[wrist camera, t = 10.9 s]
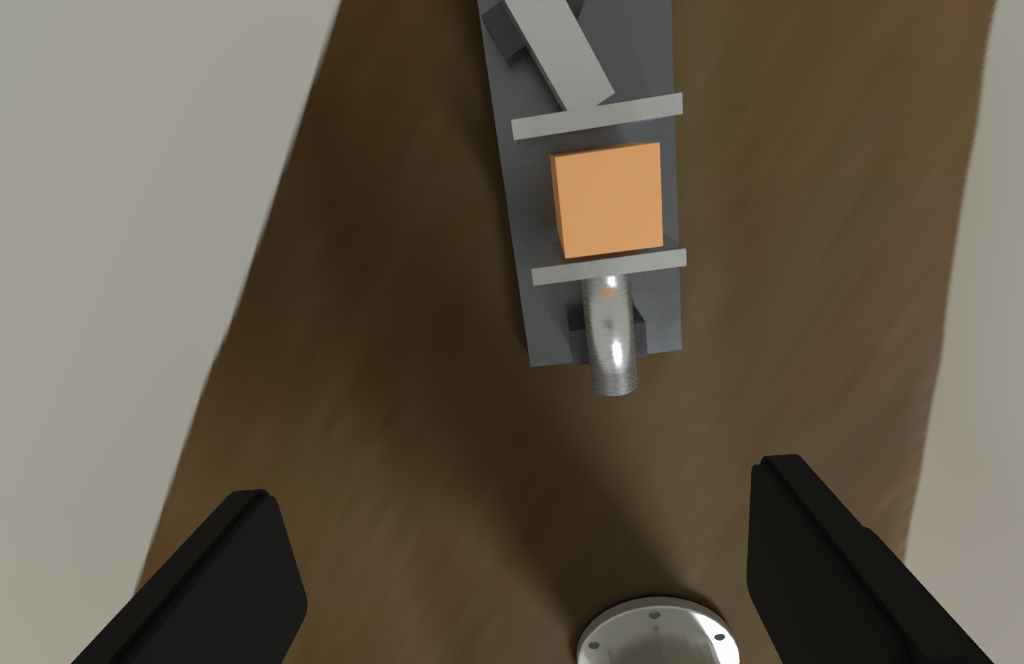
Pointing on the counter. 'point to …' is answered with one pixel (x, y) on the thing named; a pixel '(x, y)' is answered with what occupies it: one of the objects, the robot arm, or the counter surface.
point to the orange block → (608, 198)
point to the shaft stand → (576, 126)
